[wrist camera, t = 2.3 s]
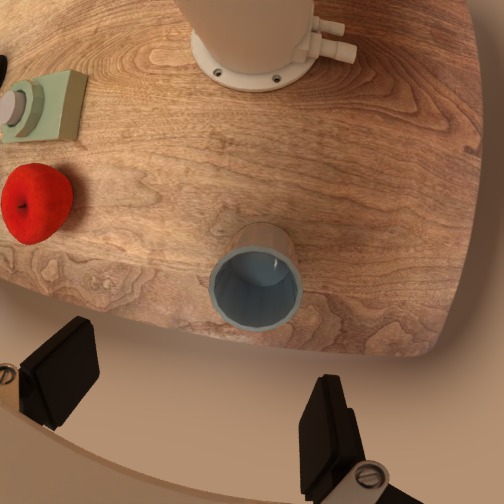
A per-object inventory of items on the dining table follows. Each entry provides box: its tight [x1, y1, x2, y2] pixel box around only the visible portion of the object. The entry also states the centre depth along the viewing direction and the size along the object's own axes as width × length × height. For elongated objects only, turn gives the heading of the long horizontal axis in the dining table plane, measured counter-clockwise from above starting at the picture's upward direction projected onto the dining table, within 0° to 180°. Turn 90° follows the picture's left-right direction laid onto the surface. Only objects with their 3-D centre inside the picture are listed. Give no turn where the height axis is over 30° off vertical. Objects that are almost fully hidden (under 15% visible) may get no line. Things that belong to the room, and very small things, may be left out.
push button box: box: [1, 69, 88, 144], centre depth 23 cm, size 12×8×6 cm, turn 81°
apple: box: [1, 163, 73, 245], centre depth 25 cm, size 9×9×8 cm
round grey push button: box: [0, 91, 27, 125], centre depth 20 cm, size 4×4×2 cm
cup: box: [209, 223, 303, 332], centre depth 25 cm, size 7×7×8 cm
